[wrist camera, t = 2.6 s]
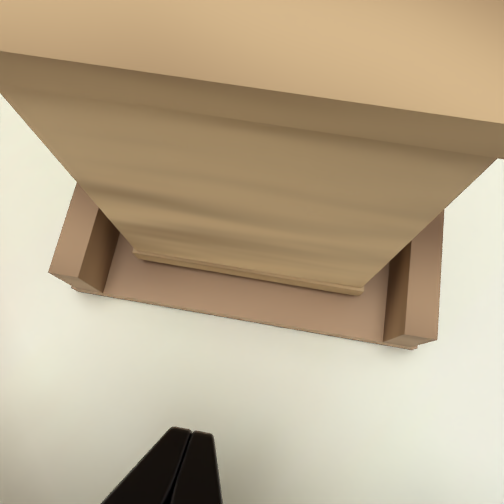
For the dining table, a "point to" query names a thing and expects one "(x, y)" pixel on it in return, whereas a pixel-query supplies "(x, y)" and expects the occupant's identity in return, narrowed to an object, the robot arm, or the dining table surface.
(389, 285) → the bay
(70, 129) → the tall wooden block
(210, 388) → the dining table surface
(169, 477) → the robot arm
